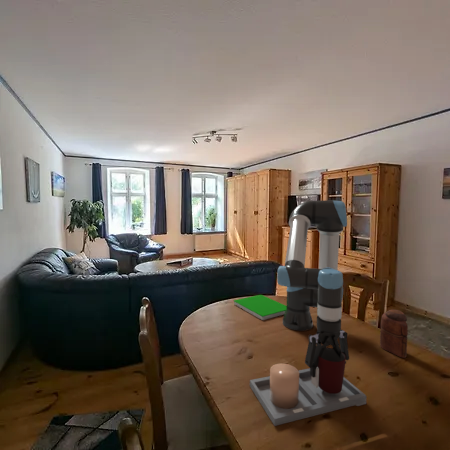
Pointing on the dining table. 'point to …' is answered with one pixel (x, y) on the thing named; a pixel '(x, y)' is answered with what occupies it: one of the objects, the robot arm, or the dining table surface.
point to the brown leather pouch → (394, 333)
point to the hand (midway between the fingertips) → (326, 382)
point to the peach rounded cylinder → (284, 386)
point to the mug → (331, 371)
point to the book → (261, 306)
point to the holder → (306, 399)
